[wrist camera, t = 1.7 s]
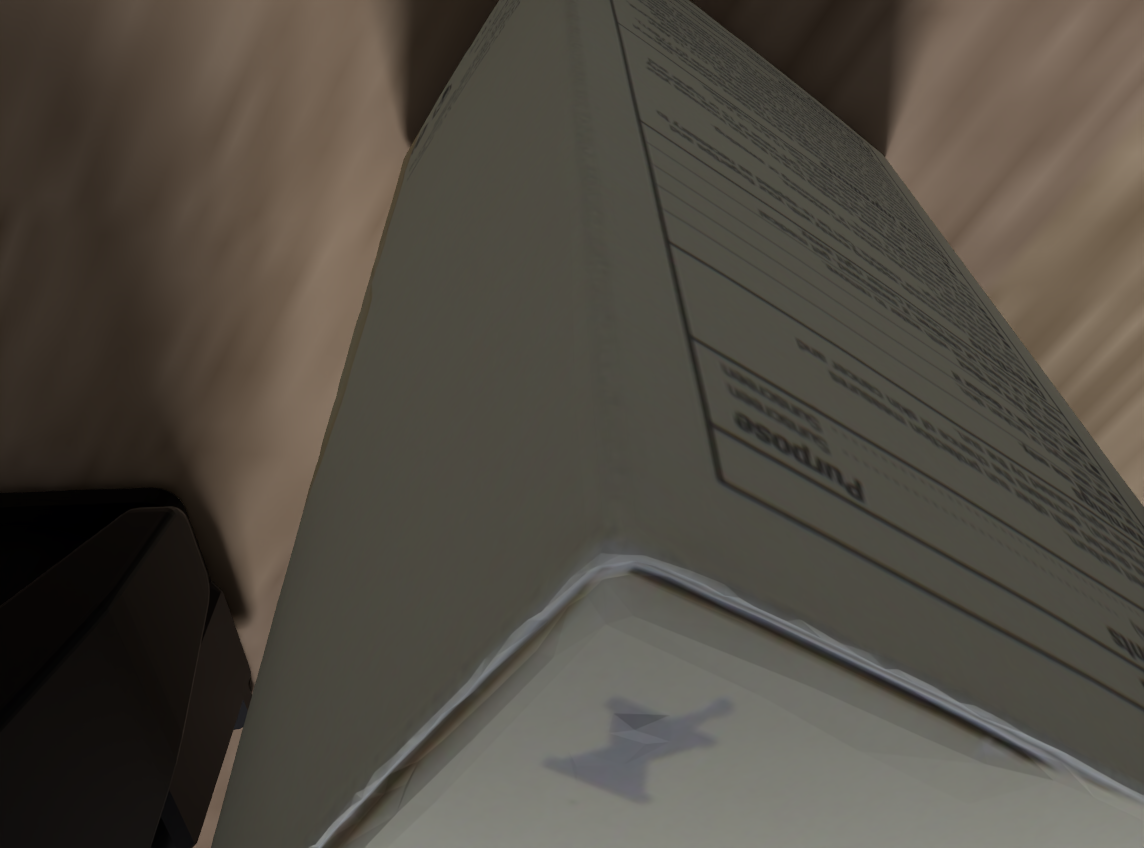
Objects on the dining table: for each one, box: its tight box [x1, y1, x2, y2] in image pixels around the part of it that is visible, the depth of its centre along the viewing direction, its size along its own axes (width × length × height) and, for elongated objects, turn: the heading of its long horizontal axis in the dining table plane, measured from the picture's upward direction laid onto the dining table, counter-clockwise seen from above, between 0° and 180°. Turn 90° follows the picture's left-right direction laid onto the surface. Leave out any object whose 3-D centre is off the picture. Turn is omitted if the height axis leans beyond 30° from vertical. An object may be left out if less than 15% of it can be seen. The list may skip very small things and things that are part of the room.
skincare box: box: [211, 0, 1144, 848], centre depth 10 cm, size 6×4×12 cm
